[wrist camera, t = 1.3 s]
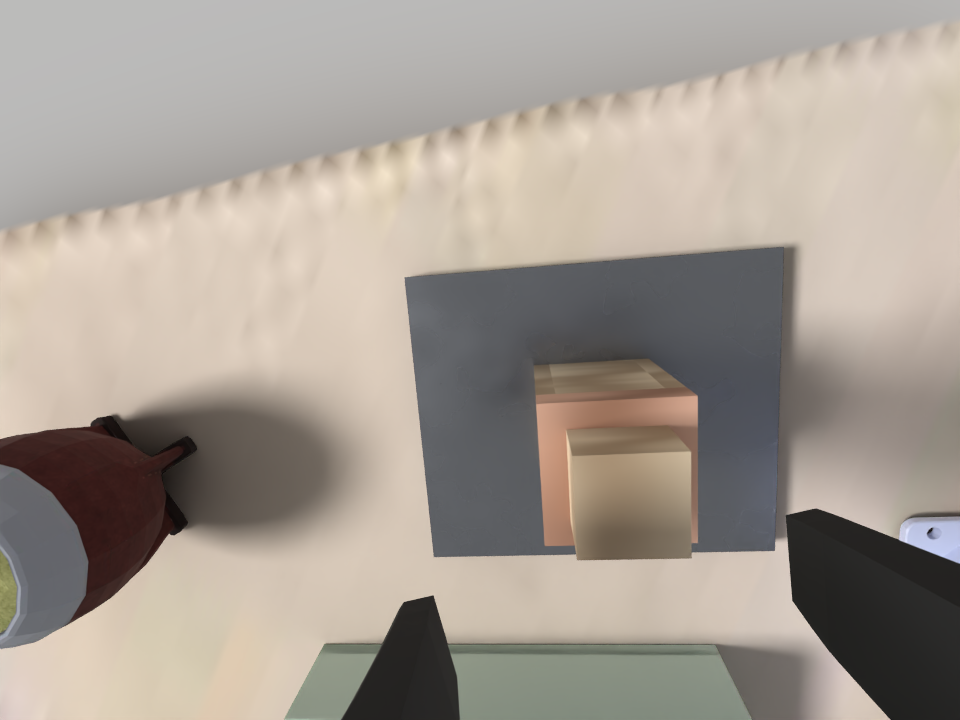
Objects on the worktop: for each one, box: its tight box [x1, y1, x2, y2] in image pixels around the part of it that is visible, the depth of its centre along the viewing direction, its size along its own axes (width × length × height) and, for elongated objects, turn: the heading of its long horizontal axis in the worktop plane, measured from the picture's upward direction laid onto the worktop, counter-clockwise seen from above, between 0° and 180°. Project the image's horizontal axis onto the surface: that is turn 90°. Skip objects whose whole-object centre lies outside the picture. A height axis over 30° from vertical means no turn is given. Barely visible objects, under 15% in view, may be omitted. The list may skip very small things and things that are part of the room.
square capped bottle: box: [534, 359, 698, 560], centre depth 16 cm, size 4×4×8 cm
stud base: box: [405, 247, 784, 557], centre depth 18 cm, size 14×12×5 cm
